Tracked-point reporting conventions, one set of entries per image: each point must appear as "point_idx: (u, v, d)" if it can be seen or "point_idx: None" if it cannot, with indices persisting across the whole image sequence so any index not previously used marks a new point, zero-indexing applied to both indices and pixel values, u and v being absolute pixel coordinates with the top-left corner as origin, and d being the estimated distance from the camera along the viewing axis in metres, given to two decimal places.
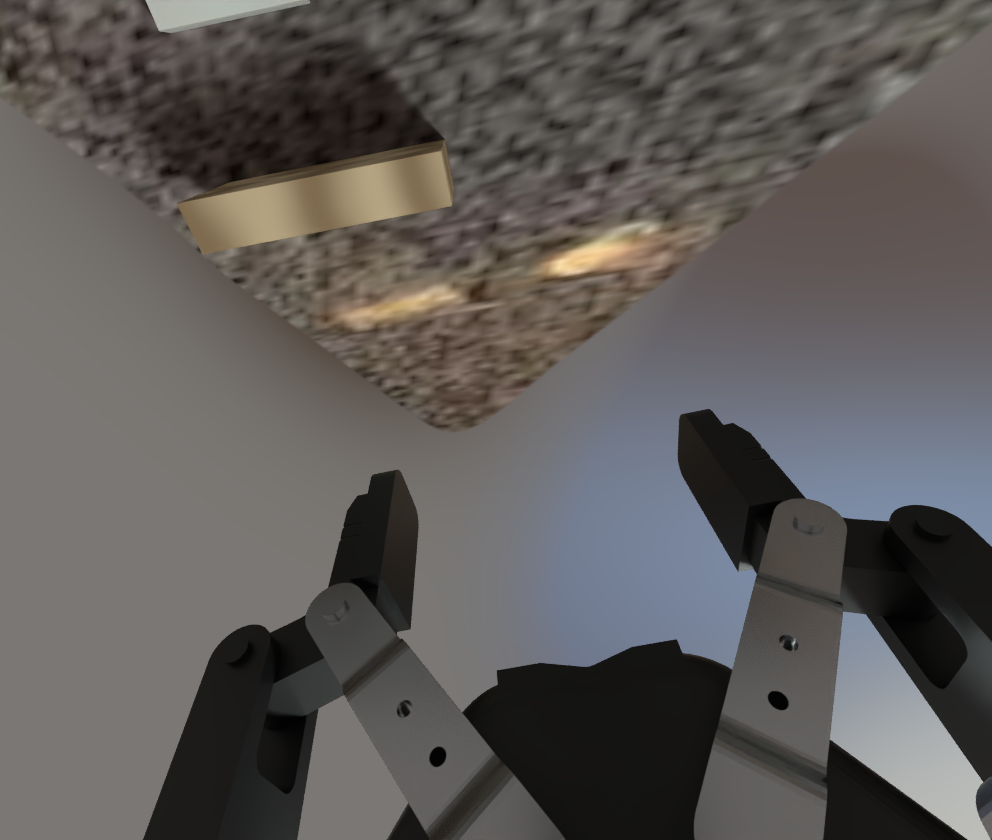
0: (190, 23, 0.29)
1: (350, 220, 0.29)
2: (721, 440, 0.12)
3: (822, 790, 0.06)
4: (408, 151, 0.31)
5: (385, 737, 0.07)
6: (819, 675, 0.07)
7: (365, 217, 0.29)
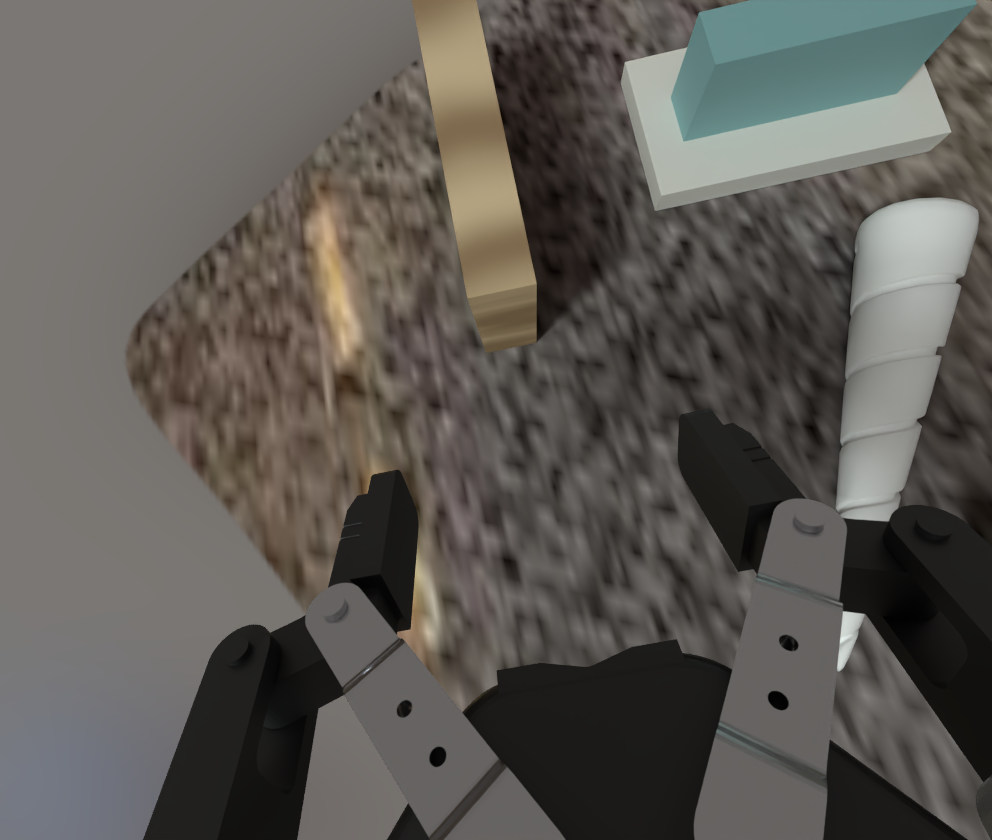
0: (633, 90, 0.28)
1: (449, 166, 0.21)
2: (721, 440, 0.12)
3: (822, 790, 0.06)
4: None
5: (385, 737, 0.07)
6: (819, 674, 0.07)
7: (453, 185, 0.21)
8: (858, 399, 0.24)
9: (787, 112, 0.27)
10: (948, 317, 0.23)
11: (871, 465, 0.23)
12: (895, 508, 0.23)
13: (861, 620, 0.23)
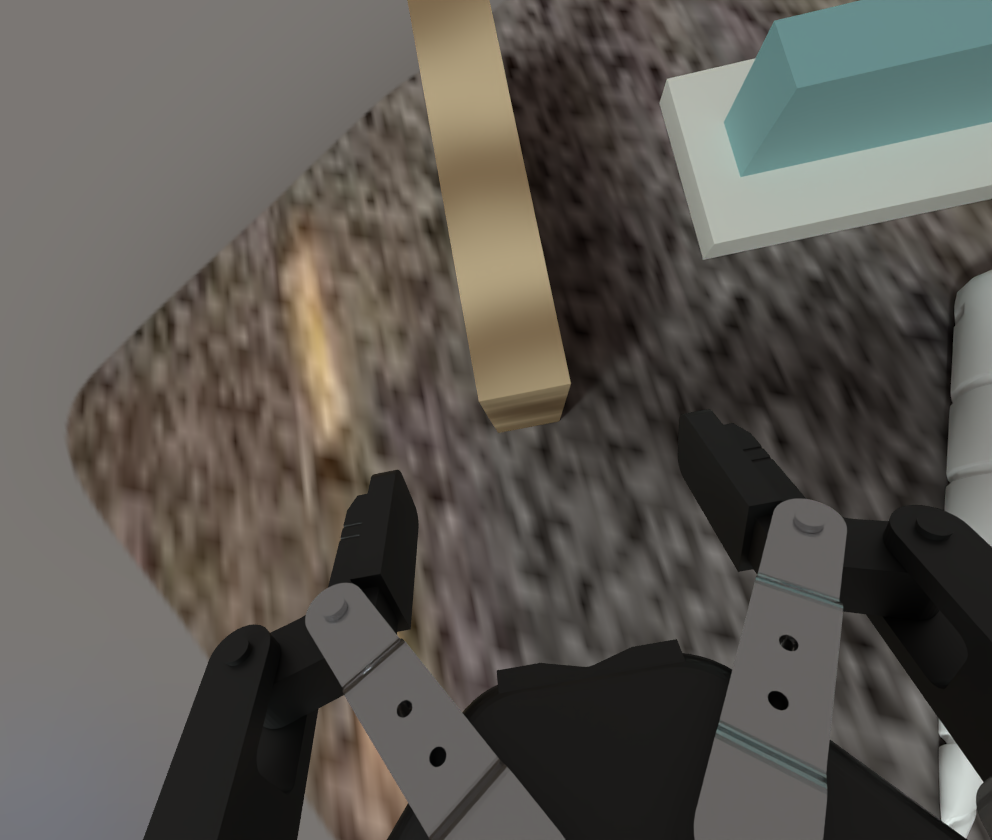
0: (677, 113, 0.23)
1: (455, 222, 0.16)
2: (721, 440, 0.12)
3: (822, 790, 0.06)
4: None
5: (385, 737, 0.07)
6: (819, 675, 0.07)
7: (460, 248, 0.16)
8: (973, 511, 0.19)
9: (870, 142, 0.22)
10: None
11: None
12: None
13: None
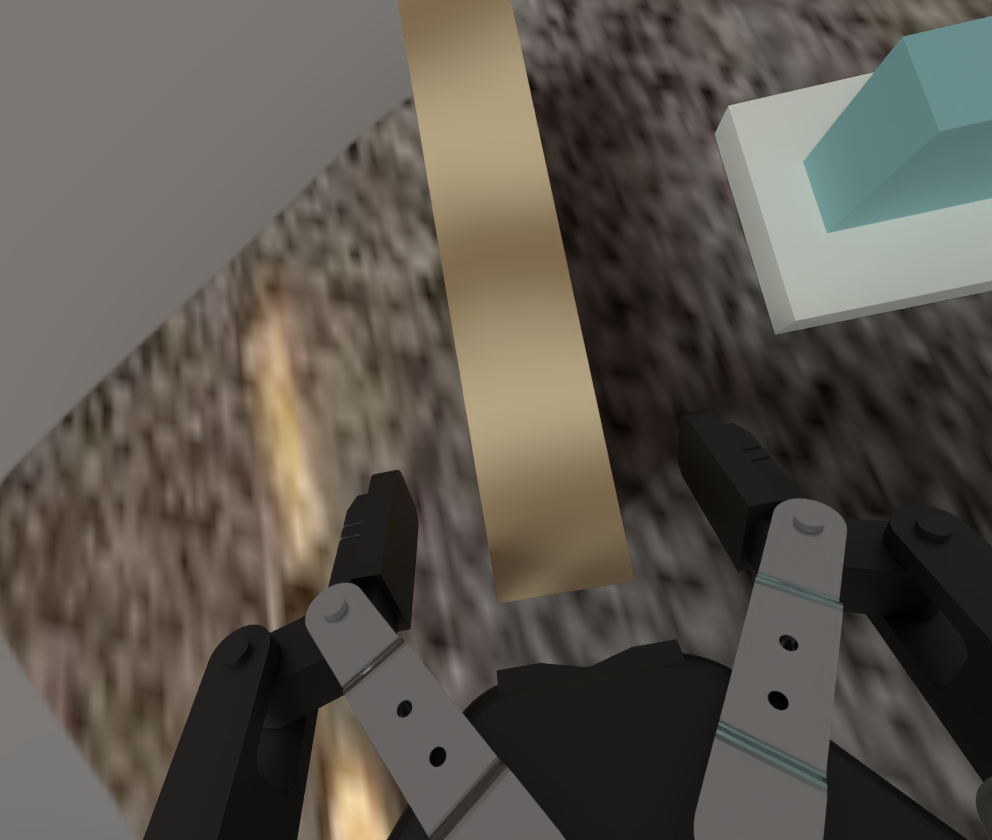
0: (743, 150, 0.18)
1: (464, 329, 0.11)
2: (721, 440, 0.12)
3: (822, 790, 0.06)
4: None
5: (385, 737, 0.07)
6: (819, 675, 0.07)
7: (471, 366, 0.11)
8: None
9: None
10: None
11: None
12: None
13: None
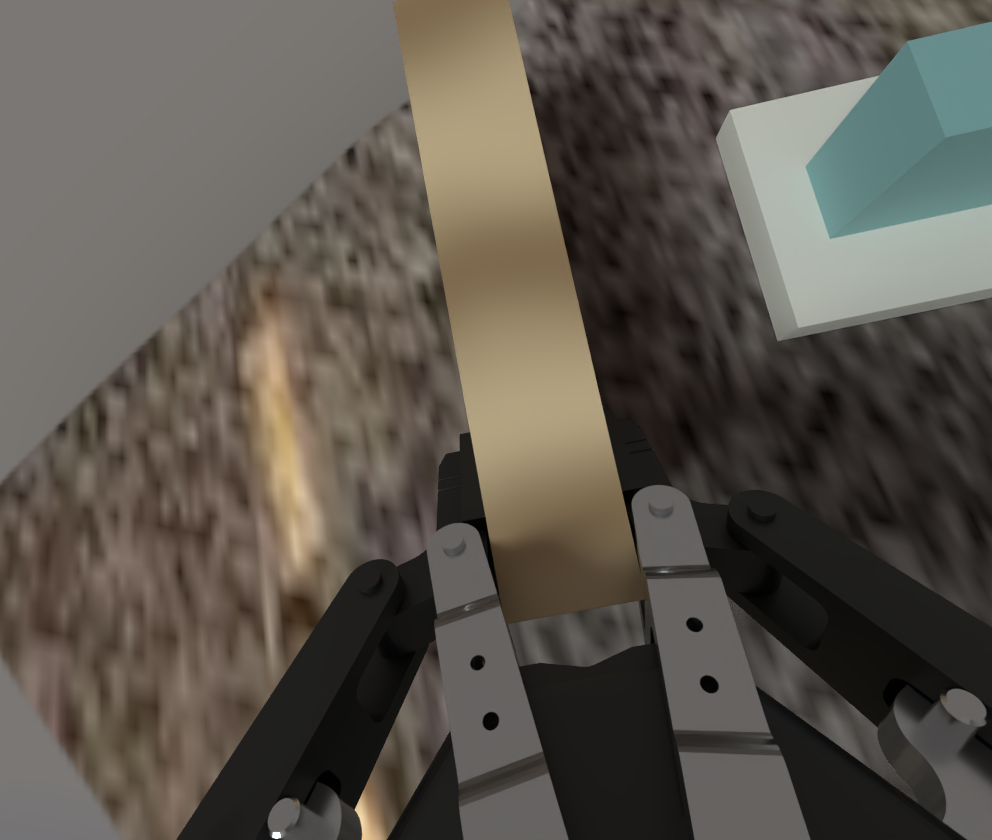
0: (744, 154, 0.18)
1: (466, 338, 0.11)
2: None
3: (777, 753, 0.06)
4: None
5: (453, 679, 0.08)
6: (728, 643, 0.07)
7: (473, 378, 0.11)
8: None
9: None
10: None
11: None
12: None
13: None
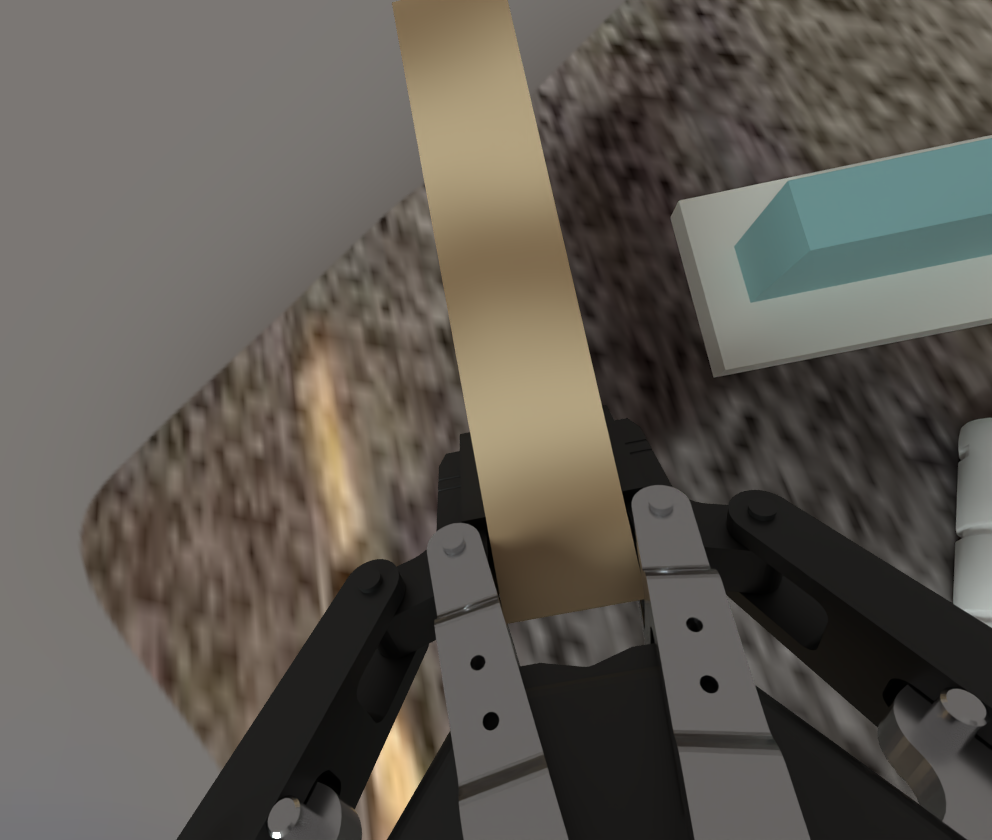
0: (689, 236, 0.24)
1: (465, 339, 0.11)
2: (608, 433, 0.13)
3: (777, 753, 0.06)
4: None
5: (453, 679, 0.08)
6: (728, 643, 0.07)
7: (473, 378, 0.11)
8: None
9: (876, 274, 0.22)
10: None
11: None
12: None
13: None
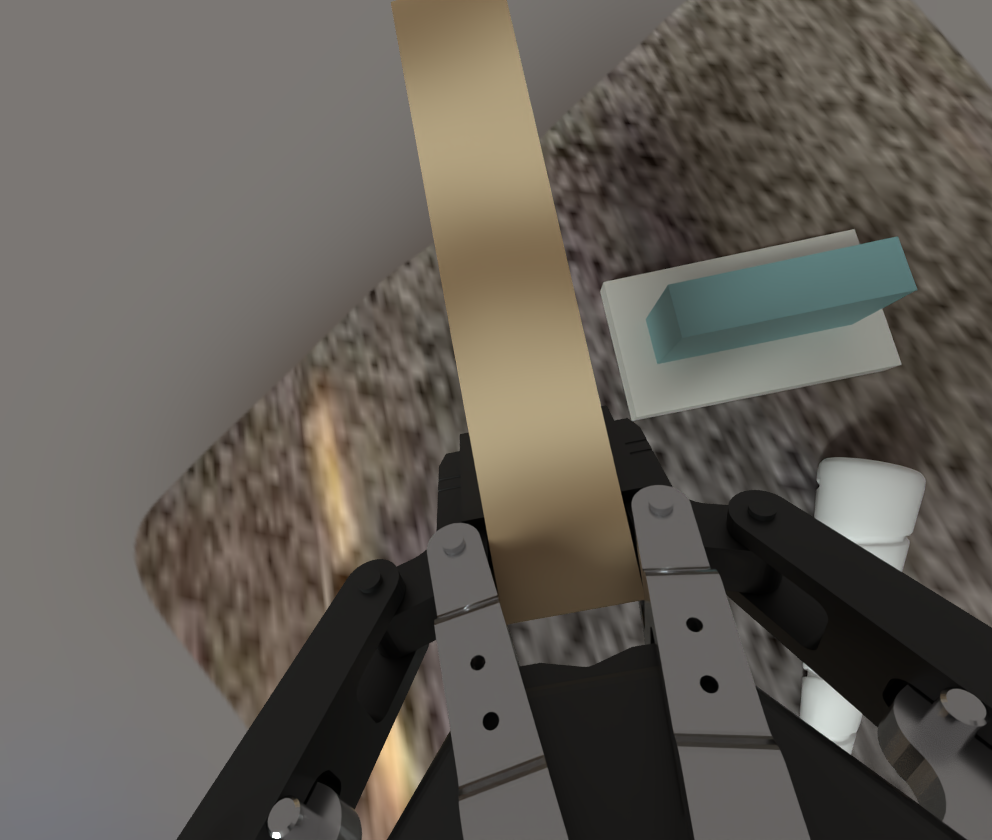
0: (611, 310, 0.30)
1: (464, 339, 0.11)
2: (608, 433, 0.13)
3: (777, 753, 0.06)
4: None
5: (454, 679, 0.08)
6: (728, 643, 0.07)
7: (471, 378, 0.11)
8: None
9: (752, 343, 0.29)
10: None
11: (829, 707, 0.25)
12: (850, 748, 0.25)
13: None
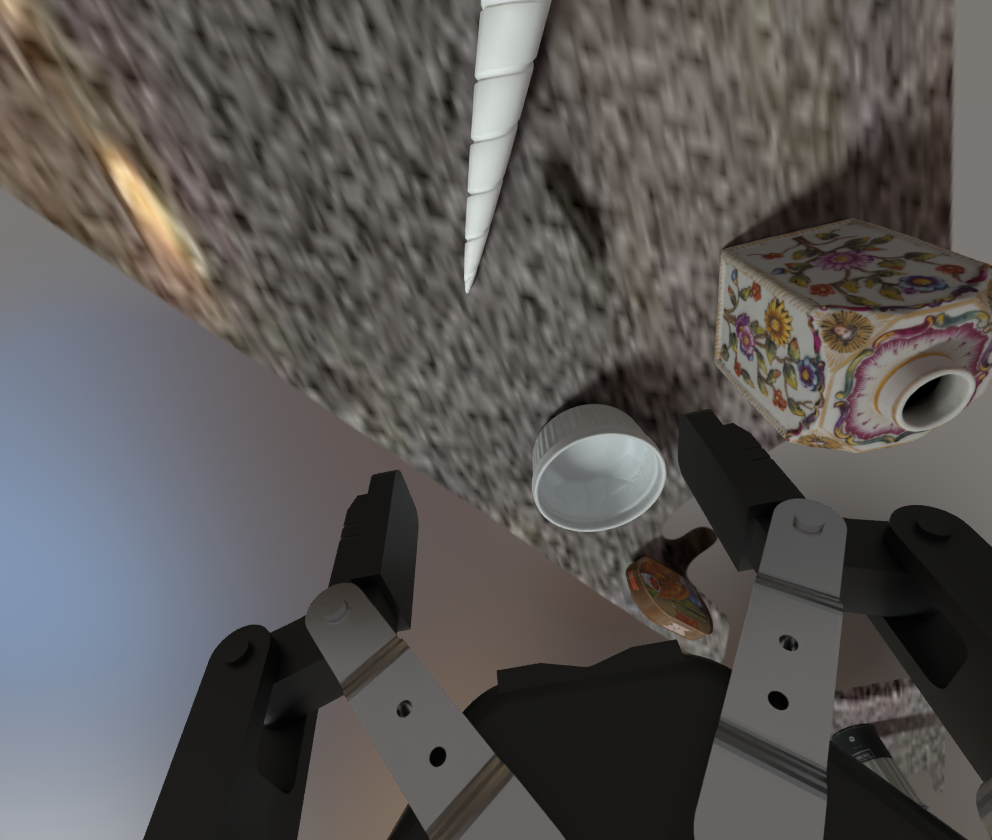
0: None
1: None
2: (721, 440, 0.12)
3: (822, 790, 0.06)
4: None
5: (385, 737, 0.07)
6: (819, 674, 0.07)
7: None
8: (474, 109, 0.32)
9: None
10: (530, 36, 0.29)
11: (478, 165, 0.34)
12: (493, 195, 0.36)
13: (476, 265, 0.39)
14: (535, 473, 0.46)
